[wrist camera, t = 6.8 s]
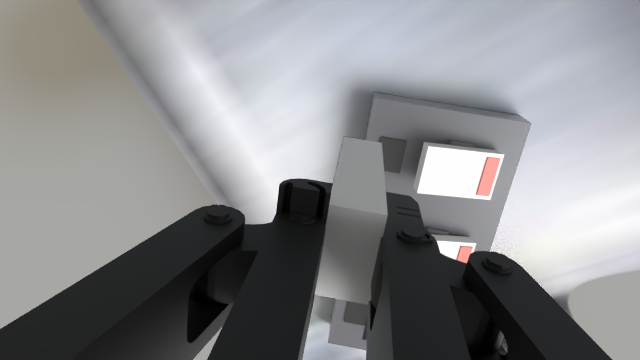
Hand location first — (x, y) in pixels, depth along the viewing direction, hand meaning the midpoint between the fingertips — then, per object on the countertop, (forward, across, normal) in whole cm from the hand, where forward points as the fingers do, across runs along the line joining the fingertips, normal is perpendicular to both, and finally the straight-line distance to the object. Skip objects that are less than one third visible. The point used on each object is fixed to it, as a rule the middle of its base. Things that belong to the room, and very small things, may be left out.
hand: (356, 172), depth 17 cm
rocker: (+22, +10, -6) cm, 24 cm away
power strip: (+26, +8, -15) cm, 31 cm away
